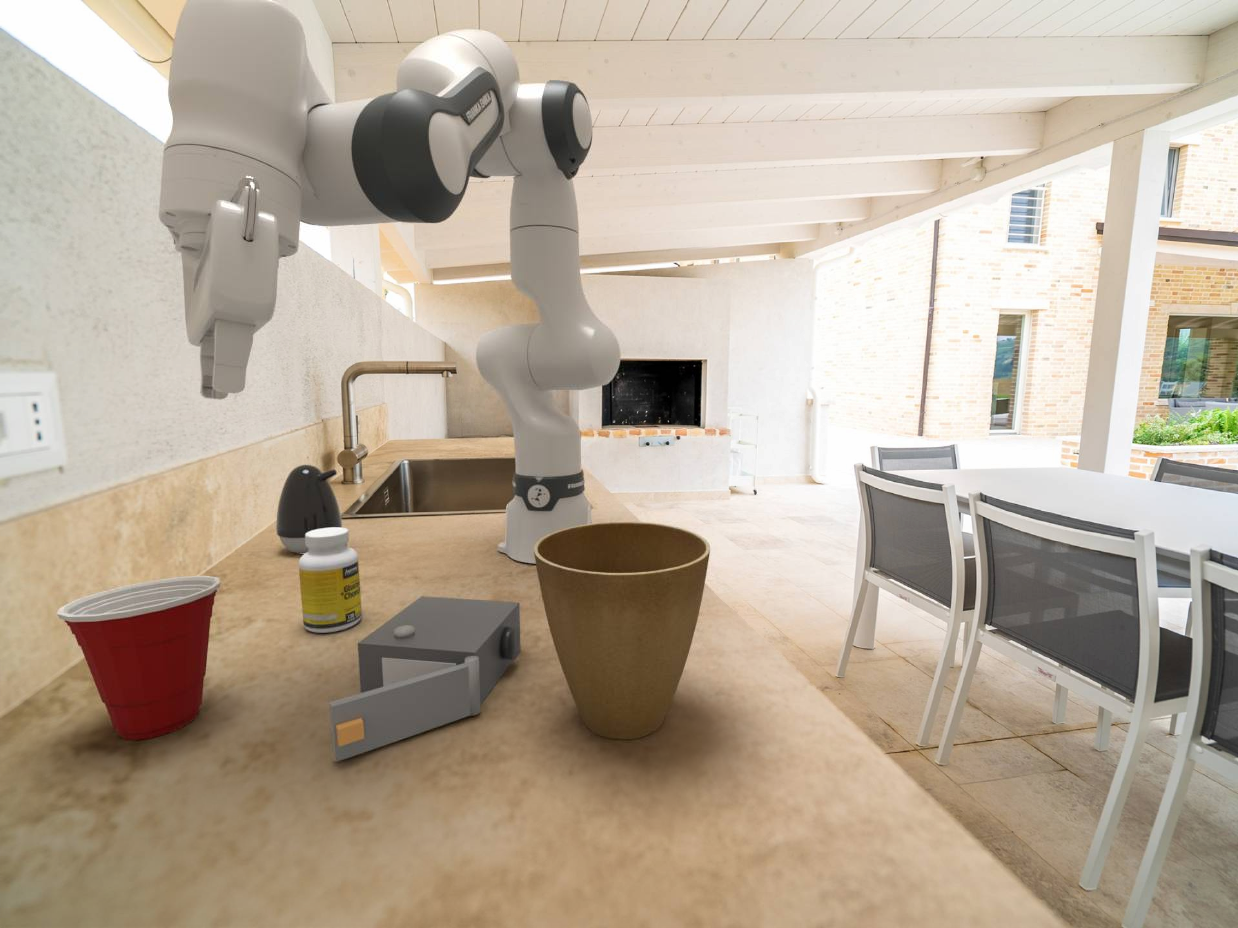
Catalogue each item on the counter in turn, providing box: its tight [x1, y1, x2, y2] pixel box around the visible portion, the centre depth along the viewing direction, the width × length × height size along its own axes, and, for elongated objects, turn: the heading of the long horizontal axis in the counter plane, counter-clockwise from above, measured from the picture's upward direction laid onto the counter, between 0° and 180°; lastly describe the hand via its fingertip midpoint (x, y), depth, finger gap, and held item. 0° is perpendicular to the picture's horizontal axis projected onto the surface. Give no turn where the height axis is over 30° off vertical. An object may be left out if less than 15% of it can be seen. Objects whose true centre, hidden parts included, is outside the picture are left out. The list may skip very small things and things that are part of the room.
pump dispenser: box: [275, 464, 343, 554], centre depth 101 cm, size 10×10×15 cm
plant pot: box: [534, 521, 711, 740], centre depth 50 cm, size 15×15×16 cm
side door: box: [329, 656, 481, 763], centre depth 48 cm, size 2×12×5 cm, turn 126°
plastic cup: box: [56, 575, 221, 741], centre depth 50 cm, size 11×11×12 cm
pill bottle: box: [298, 527, 363, 634], centre depth 70 cm, size 6×6×12 cm
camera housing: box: [357, 595, 522, 706], centre depth 59 cm, size 12×12×6 cm
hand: (220, 395), depth 44 cm, fingers open, 8 cm apart
